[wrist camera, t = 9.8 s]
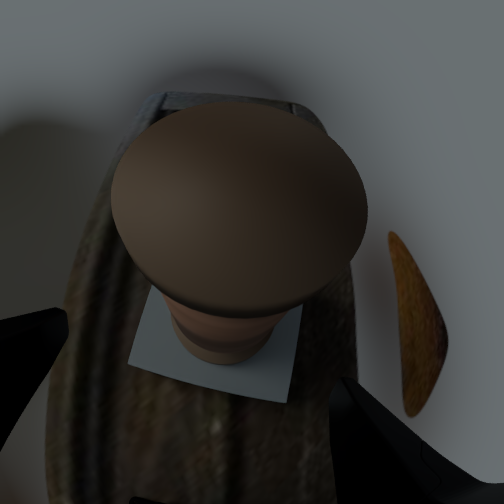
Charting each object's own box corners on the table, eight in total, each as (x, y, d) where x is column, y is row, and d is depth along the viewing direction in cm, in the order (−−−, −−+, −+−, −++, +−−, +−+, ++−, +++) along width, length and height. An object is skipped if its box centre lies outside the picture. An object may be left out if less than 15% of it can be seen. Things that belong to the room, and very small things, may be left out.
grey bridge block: (272, 401, 18) (286, 403, 15) (143, 369, 18) (127, 363, 15) (292, 287, 23) (307, 266, 19) (177, 259, 22) (171, 233, 19)
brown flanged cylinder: (254, 379, 15) (346, 347, 5) (157, 341, 16) (62, 237, 5) (284, 288, 18) (371, 144, 8) (195, 256, 18) (186, 86, 8)
